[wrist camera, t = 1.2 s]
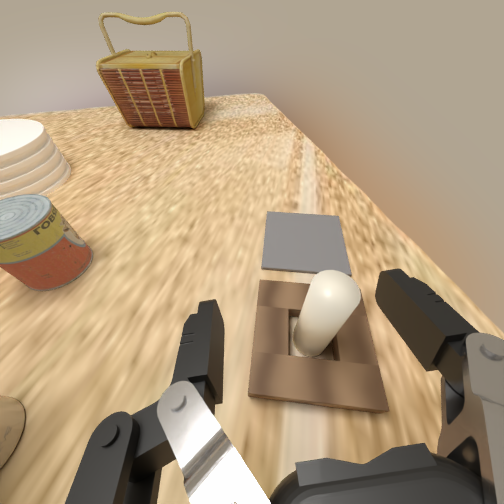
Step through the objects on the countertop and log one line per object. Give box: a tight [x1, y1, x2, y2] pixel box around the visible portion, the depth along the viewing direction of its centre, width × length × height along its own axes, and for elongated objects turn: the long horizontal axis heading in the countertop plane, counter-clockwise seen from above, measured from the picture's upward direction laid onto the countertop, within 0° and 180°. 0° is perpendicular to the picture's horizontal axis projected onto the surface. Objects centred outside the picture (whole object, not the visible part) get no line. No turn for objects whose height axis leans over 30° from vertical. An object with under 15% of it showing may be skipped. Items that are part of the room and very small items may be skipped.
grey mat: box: [261, 211, 352, 276], centre depth 45 cm, size 16×16×1 cm
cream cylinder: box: [293, 270, 361, 357], centre depth 27 cm, size 5×5×14 cm
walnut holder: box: [248, 280, 389, 413], centre depth 32 cm, size 16×16×2 cm
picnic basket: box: [96, 12, 205, 129], centre depth 78 cm, size 29×26×30 cm
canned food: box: [0, 194, 93, 291], centre depth 37 cm, size 11×11×12 cm
